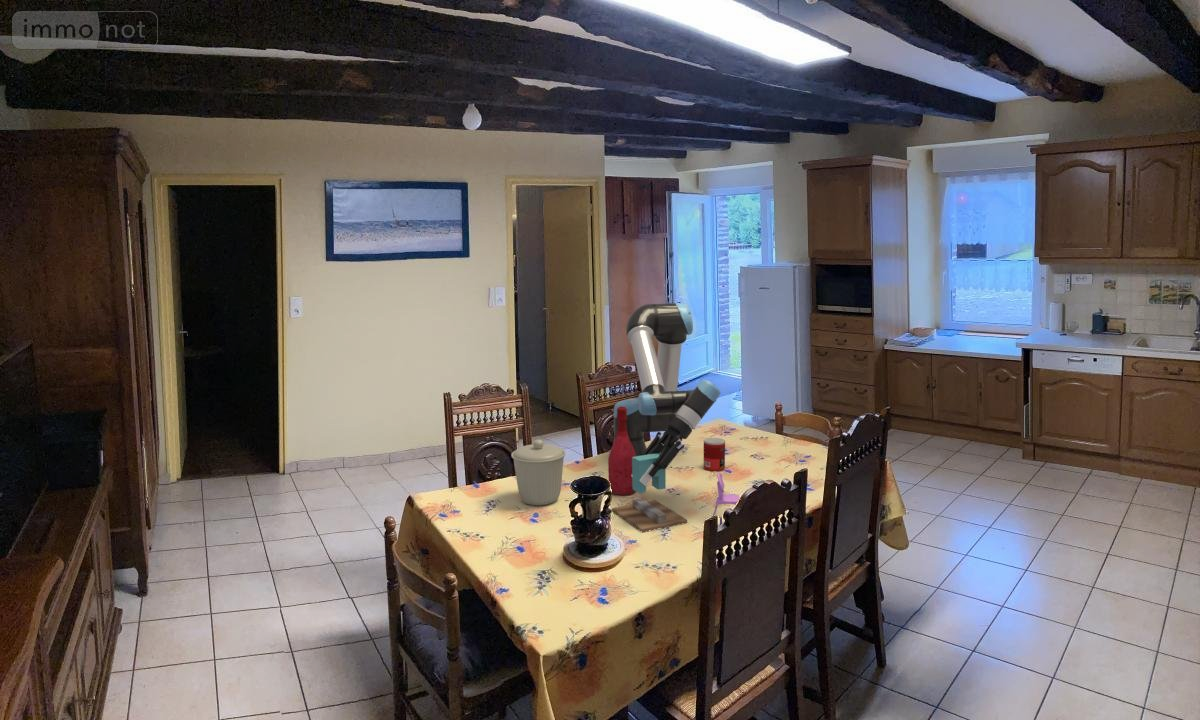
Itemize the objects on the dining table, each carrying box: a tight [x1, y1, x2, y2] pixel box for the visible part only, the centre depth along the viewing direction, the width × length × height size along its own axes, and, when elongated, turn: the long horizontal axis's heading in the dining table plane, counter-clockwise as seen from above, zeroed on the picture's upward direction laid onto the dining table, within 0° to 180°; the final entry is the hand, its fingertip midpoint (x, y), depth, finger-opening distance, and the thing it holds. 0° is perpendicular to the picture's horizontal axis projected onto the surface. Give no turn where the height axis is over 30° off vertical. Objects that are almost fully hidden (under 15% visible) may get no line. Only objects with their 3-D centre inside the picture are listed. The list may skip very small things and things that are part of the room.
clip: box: [632, 452, 667, 494], centre depth 245 cm, size 9×4×10 cm, turn 116°
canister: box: [510, 439, 567, 506], centre depth 262 cm, size 18×18×21 cm
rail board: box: [611, 496, 688, 533], centre depth 248 cm, size 20×16×4 cm
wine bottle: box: [607, 407, 636, 496], centre depth 269 cm, size 10×10×30 cm
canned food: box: [703, 437, 726, 472], centre depth 294 cm, size 8×8×11 cm
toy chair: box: [712, 472, 740, 517], centre depth 243 cm, size 8×9×15 cm
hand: (638, 480), depth 244 cm, fingers closed on clip, 4 cm apart
